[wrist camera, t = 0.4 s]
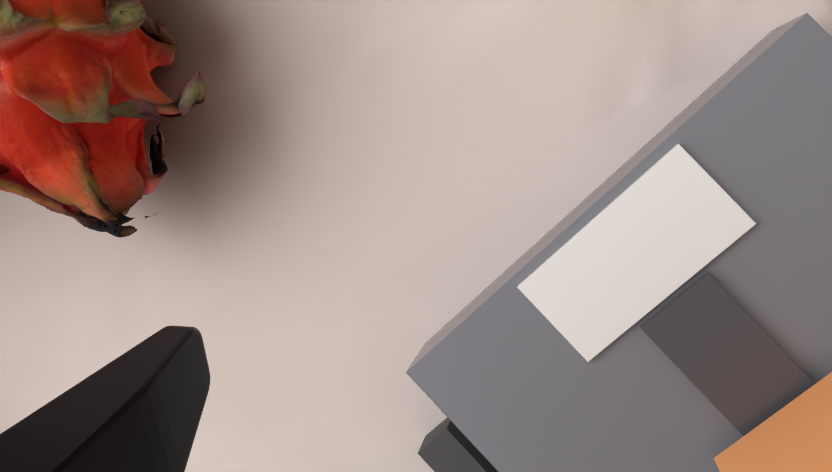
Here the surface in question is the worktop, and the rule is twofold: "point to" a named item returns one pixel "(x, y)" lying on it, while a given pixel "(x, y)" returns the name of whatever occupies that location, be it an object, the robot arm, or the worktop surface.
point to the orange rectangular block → (788, 437)
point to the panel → (664, 289)
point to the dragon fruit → (84, 106)
